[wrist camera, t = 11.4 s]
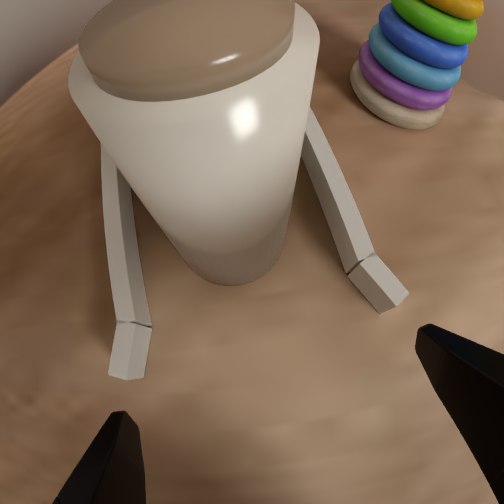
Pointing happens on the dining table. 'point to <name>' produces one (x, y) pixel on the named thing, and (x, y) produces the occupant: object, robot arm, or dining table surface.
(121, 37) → the cream jar
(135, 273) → the white u-shaped frame
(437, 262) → the dining table surface
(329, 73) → the dining table surface
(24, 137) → the dining table surface
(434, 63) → the stacking toy
